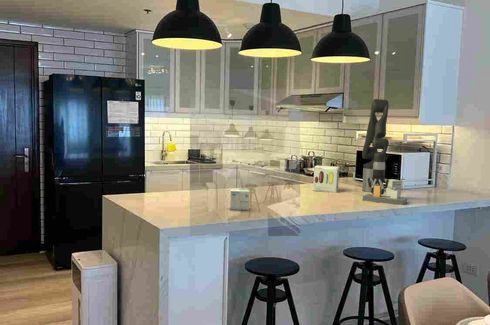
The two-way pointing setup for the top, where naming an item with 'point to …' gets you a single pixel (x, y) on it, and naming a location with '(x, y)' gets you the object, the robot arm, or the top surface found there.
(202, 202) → the top surface
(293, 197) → the top surface
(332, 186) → the supplement box
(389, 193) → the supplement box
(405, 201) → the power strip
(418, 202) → the top surface
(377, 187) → the orange plug
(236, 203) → the light bulb box
